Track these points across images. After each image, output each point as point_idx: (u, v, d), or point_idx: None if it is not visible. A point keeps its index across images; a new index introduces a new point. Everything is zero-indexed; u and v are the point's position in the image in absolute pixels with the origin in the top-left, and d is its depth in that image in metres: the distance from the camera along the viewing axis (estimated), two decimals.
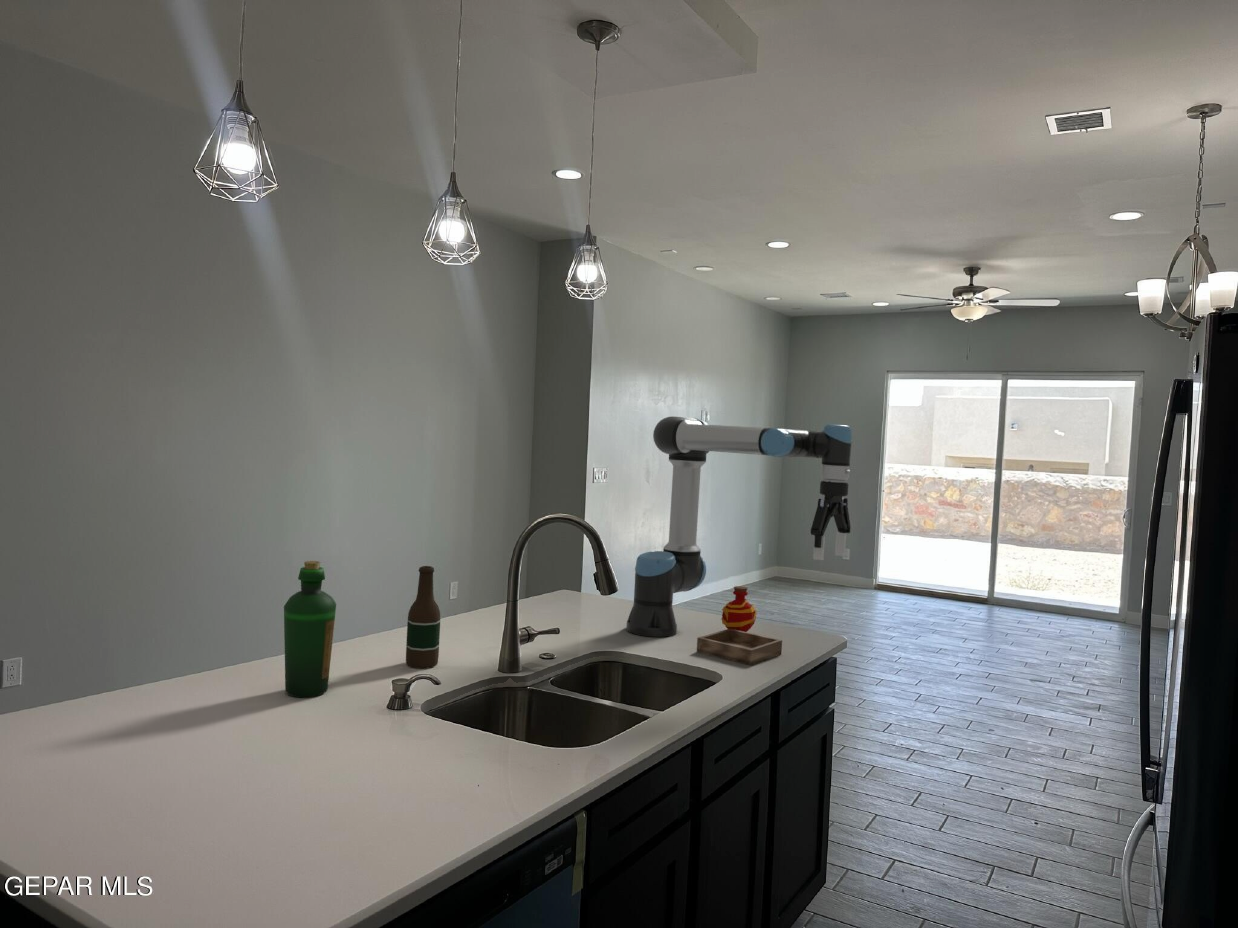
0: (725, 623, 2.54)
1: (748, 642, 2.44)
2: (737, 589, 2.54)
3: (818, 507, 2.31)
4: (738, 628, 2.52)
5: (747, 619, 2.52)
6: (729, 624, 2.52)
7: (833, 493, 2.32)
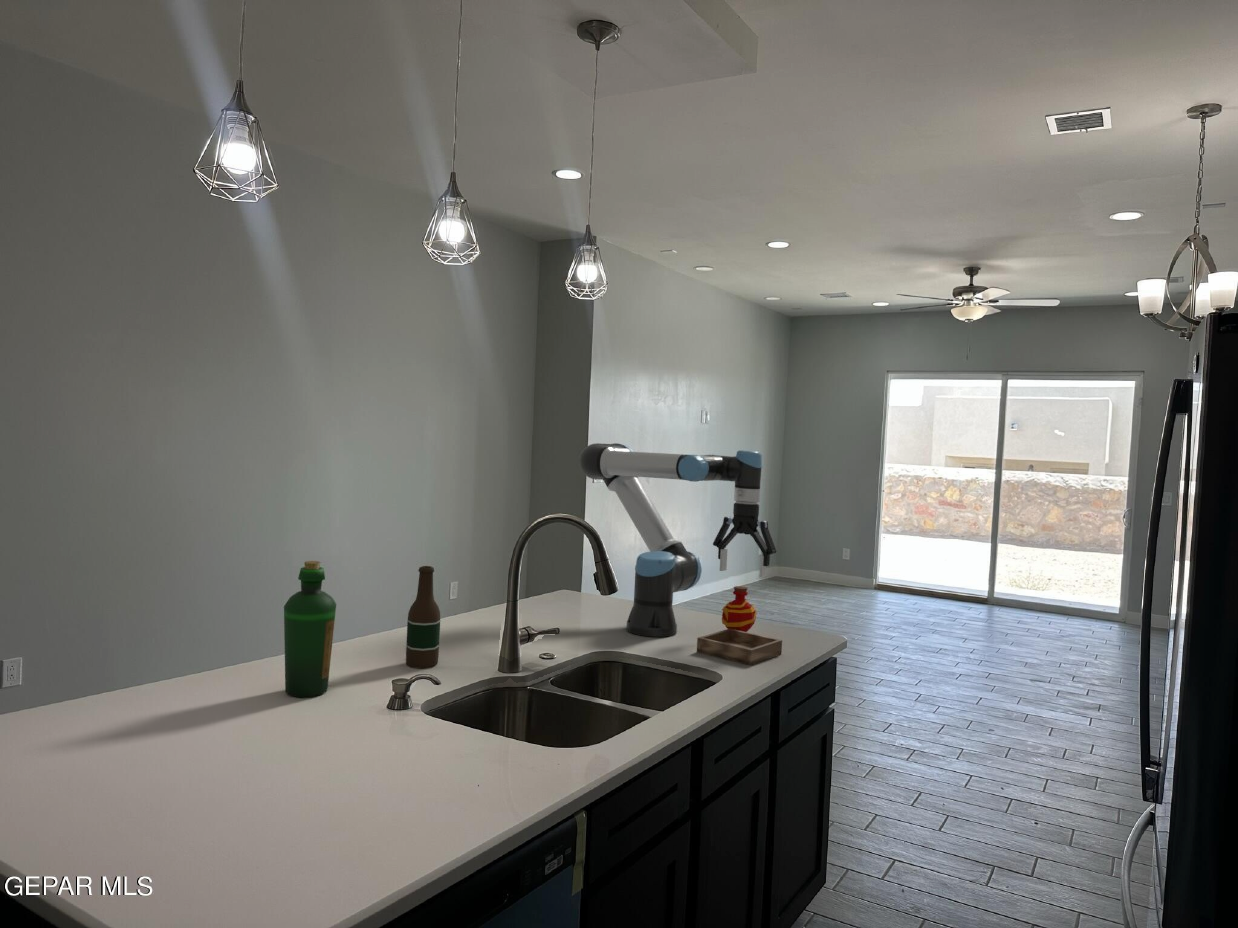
0: (725, 623, 2.54)
1: (748, 642, 2.44)
2: (737, 589, 2.54)
3: None
4: (738, 628, 2.52)
5: (747, 619, 2.52)
6: (729, 624, 2.52)
7: (733, 512, 2.56)
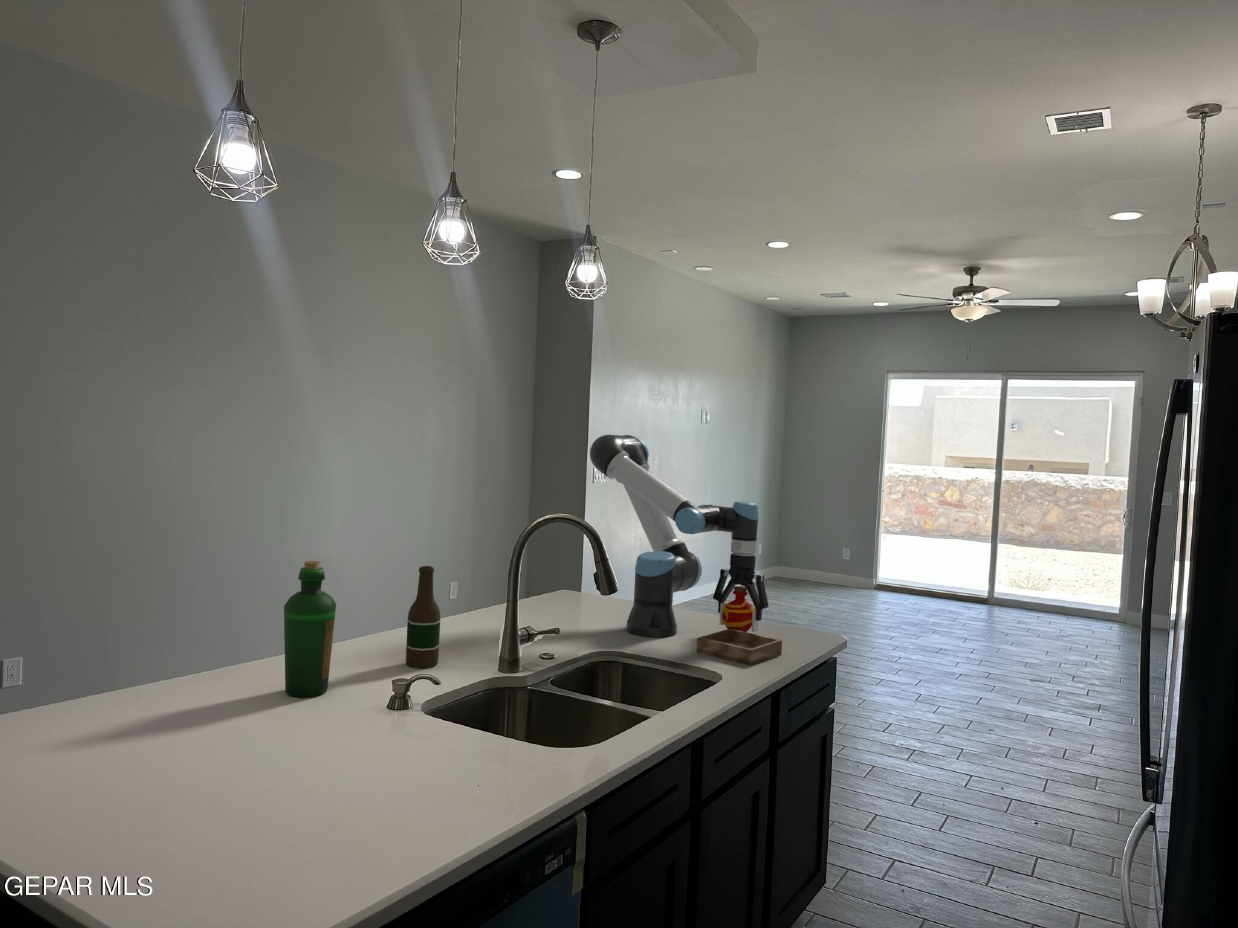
0: (725, 623, 2.54)
1: (748, 642, 2.44)
2: (737, 589, 2.54)
3: None
4: (738, 628, 2.52)
5: (747, 619, 2.52)
6: (729, 624, 2.52)
7: None
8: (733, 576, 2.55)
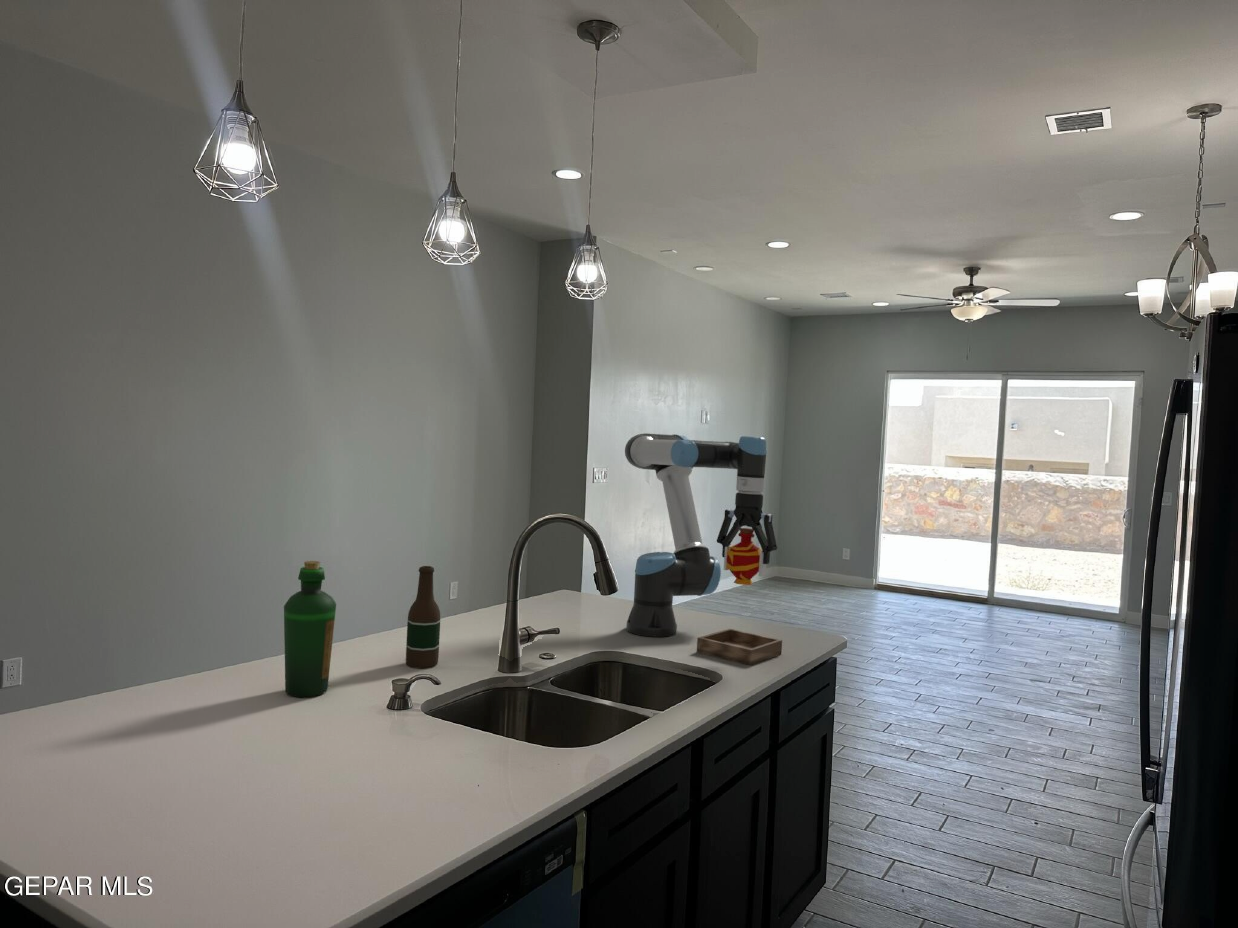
0: (730, 567, 2.35)
1: (748, 642, 2.44)
2: (743, 530, 2.35)
3: None
4: (744, 572, 2.33)
5: (753, 563, 2.32)
6: (734, 568, 2.33)
7: None
8: (739, 517, 2.36)
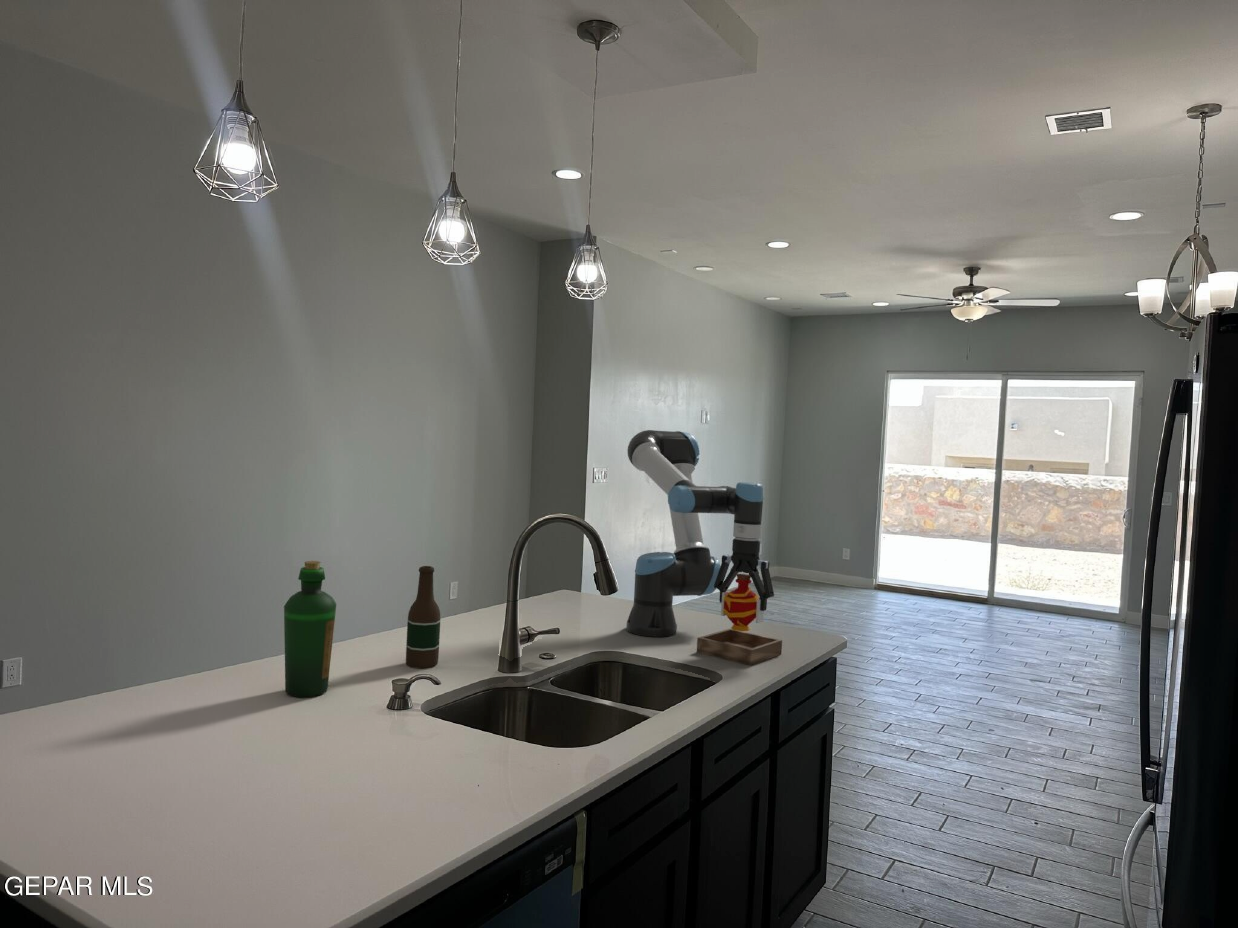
0: (727, 613, 2.35)
1: (748, 642, 2.44)
2: (740, 577, 2.35)
3: None
4: (742, 618, 2.33)
5: (750, 609, 2.33)
6: (731, 614, 2.33)
7: None
8: (736, 563, 2.36)
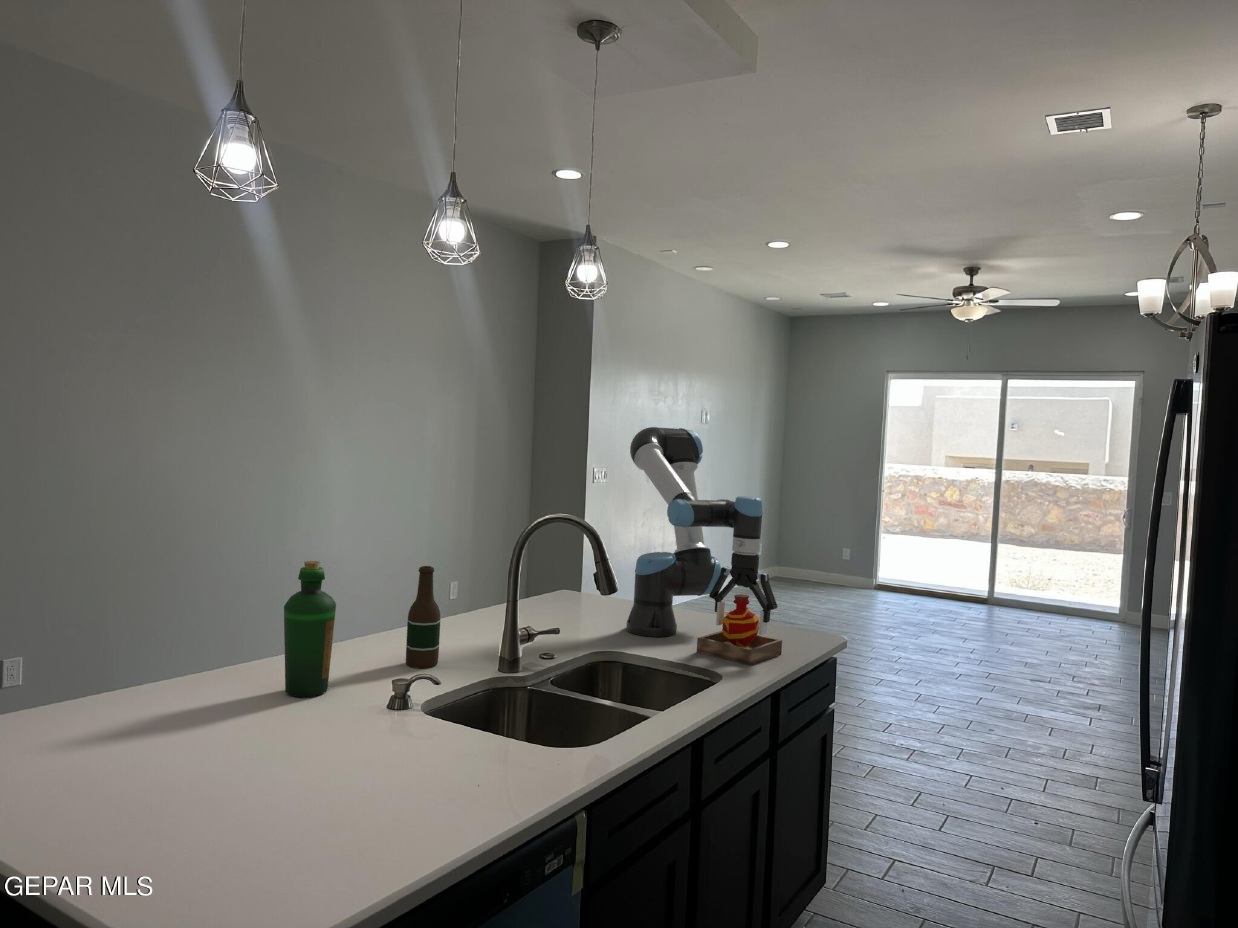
0: (726, 635, 2.35)
1: None
2: (738, 598, 2.35)
3: None
4: (740, 639, 2.33)
5: (749, 630, 2.33)
6: (730, 636, 2.34)
7: (731, 563, 2.37)
8: (735, 577, 2.36)
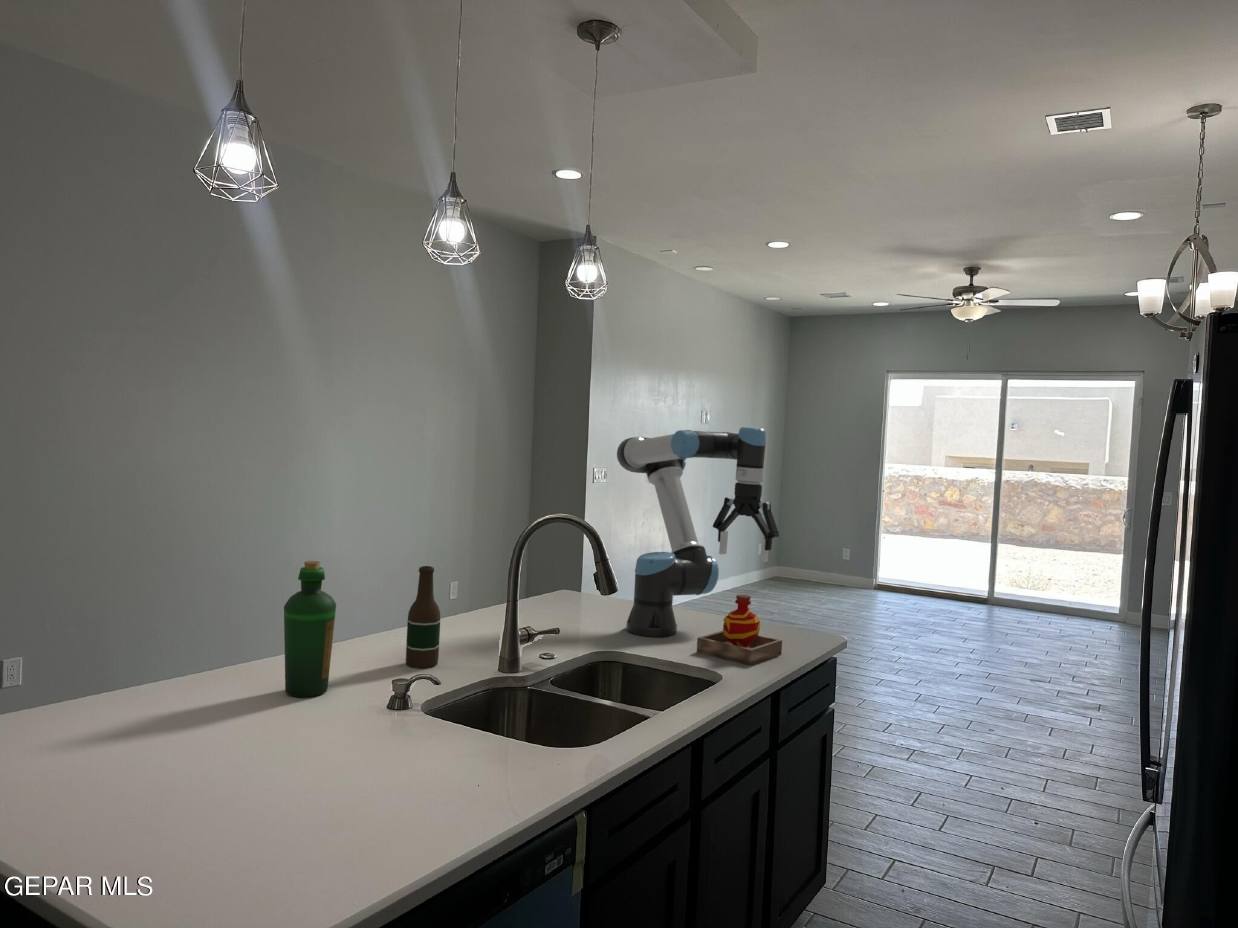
0: (726, 634, 2.35)
1: None
2: (739, 598, 2.35)
3: None
4: (741, 640, 2.33)
5: (750, 631, 2.33)
6: (731, 636, 2.34)
7: None
8: (738, 506, 2.40)
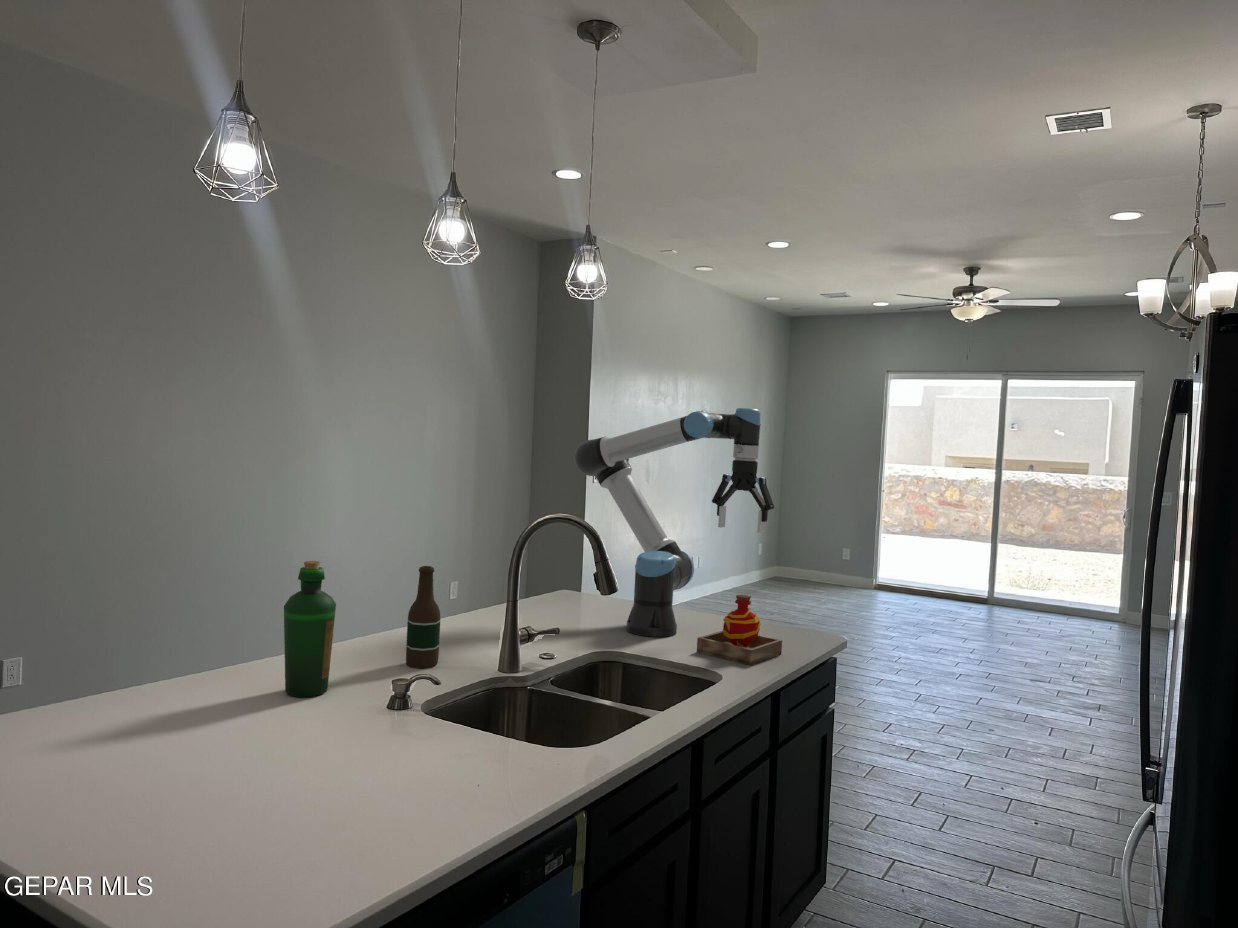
0: (726, 634, 2.35)
1: None
2: (739, 598, 2.35)
3: None
4: (741, 640, 2.33)
5: (750, 631, 2.33)
6: (731, 636, 2.34)
7: None
8: (735, 482, 2.58)
